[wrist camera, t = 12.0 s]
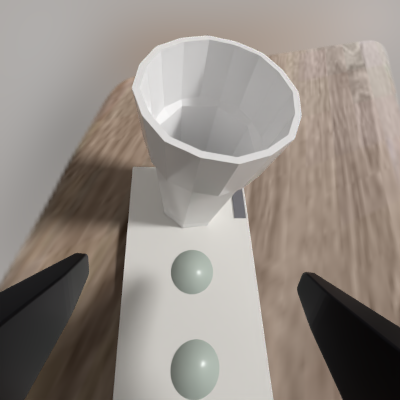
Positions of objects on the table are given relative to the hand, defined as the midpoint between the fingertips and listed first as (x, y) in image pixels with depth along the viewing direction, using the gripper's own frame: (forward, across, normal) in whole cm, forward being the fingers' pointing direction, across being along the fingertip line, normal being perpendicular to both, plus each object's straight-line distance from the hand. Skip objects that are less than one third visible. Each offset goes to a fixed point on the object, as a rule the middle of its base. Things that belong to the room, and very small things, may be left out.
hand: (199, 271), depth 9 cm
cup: (+10, 0, +1) cm, 10 cm away
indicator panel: (+6, 0, +6) cm, 8 cm away
